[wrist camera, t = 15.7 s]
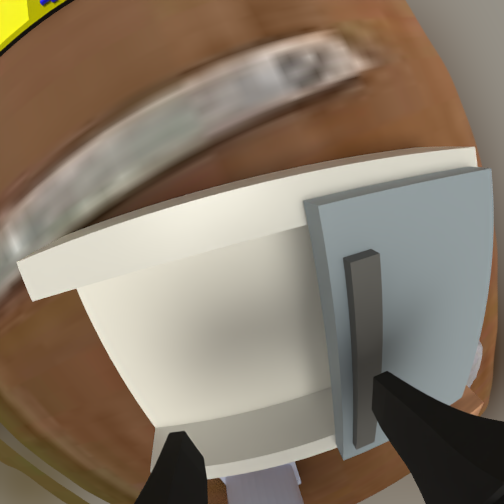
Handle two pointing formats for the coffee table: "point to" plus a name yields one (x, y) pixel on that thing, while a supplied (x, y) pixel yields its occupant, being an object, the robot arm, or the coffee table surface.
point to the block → (468, 402)
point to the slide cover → (401, 289)
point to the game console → (23, 18)
